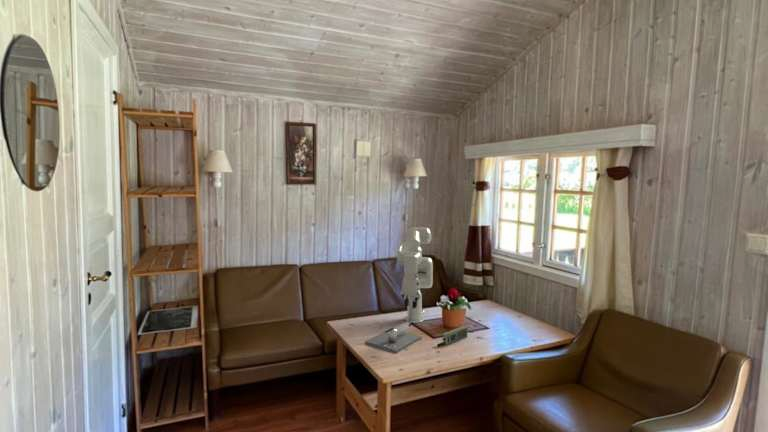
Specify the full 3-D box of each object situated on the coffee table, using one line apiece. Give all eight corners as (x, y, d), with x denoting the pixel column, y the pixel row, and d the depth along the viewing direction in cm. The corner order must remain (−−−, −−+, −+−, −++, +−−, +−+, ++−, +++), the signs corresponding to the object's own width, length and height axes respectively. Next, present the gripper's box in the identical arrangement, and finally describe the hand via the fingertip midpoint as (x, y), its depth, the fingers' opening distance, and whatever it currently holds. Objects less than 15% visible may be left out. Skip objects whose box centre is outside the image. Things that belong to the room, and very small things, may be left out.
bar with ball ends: (406, 330, 262) (406, 318, 261) (413, 332, 259) (413, 320, 258) (382, 343, 242) (382, 330, 242) (389, 345, 239) (389, 332, 239)
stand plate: (391, 330, 267) (391, 327, 267) (421, 338, 254) (421, 335, 254) (365, 343, 247) (365, 340, 247) (396, 353, 234) (396, 350, 233)
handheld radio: (468, 337, 257) (440, 348, 241) (464, 336, 259) (435, 346, 243) (468, 326, 256) (439, 336, 240) (463, 325, 259) (435, 335, 243)
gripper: (426, 276, 242) (426, 308, 244) (402, 272, 253) (402, 302, 254) (419, 279, 236) (419, 311, 238) (394, 275, 247) (394, 306, 248)
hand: (410, 306), depth 246 cm, fingers open, 4 cm apart
